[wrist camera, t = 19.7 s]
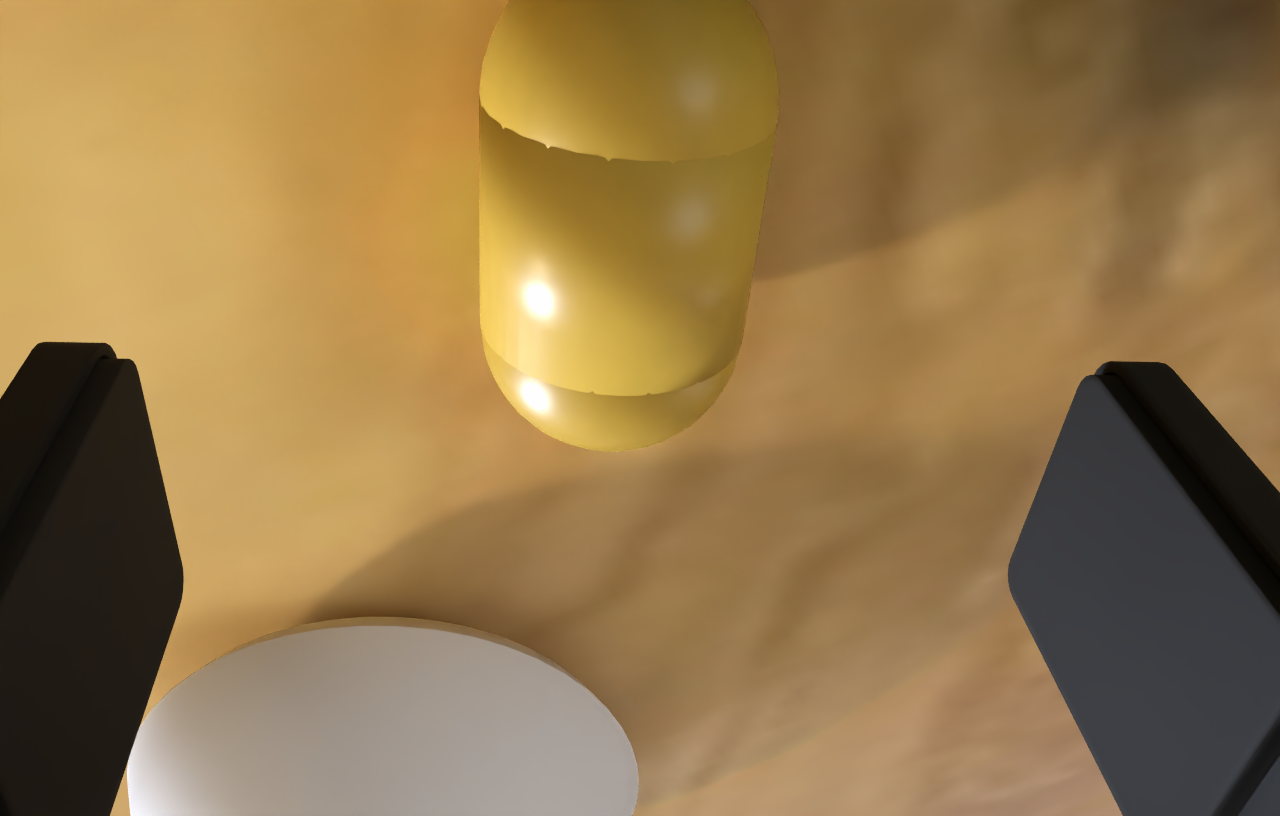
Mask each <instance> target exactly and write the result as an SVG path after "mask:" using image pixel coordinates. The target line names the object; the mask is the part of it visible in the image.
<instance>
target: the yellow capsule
mask: <svg viewBox="0 0 1280 816" xmlns="http://www.w3.org/2000/svg"><path fill="white" fill-rule="evenodd" d="M778 106H779V84H778V77H777V70H776V63H775V59H774V55H773V51H772V49H771V46H770V43H769V40H768V37H767V35H766V32H765V29H764V26H763V24H762V23H761V21H760V19H759V18H758V16H757V14H756V13H755V11H754V10H753V8H752V6H751V5H750V3H749V1H748V0H510V1H509V3H508V5H507V6H506V8H505V10H504V12H503V14H502V15H501V17H500V19H499V21H498V23H497V24H496V26H495V28H494V30H493V32H492V35H491V37H490V41H489V44H488V47H487V50H486V54H485V57H484V60H483V63H482V71H481V81H480V91H479V168H480V326H481V330H482V338H483V347H484V353H485V356H486V359H487V361H488V364H489V367H490V369H491V372H492V374H493V376H494V378H495V380H496V382H497V385H498V386H499V388H500V389H501V391H502V392H503V394H504V395H505V396H506V398H507V399H508V401H509V402H510V403H511V404H512V406H513V407H514V408H515V409H516V410H517V411H518V412H519V413H520V414H521V415H522V416H523V417H524V418H526V419H527V420H528V421H529V422H530V423H532V424H533V425H534V426H536V427H537V428H538V429H540V430H541V431H542V432H544V433H545V434H547V435H549V436H551V437H553V438H555V439H557V440H560V441H562V442H565V443H568V444H571V445H574V446H578V447H581V448H586V449H591V450H597V451H625V450H632V449H638V448H644V447H648V446H651V445H654V444H657V443H660V442H663V441H665V440H667V439H669V438H670V437H672V436H674V435H676V434H678V433H679V432H681V431H683V430H684V429H686V428H688V427H689V426H691V425H692V424H693V423H694V422H695V421H697V420H698V419H699V418H700V417H701V416H702V415H703V414H704V413H705V412H706V411H707V410H708V409H709V408H710V407H711V406H712V405H713V404H714V402H715V401H716V400H717V398H718V397H719V395H720V394H721V392H722V391H723V389H724V387H725V386H726V384H727V382H728V380H729V378H730V377H731V375H732V373H733V370H734V367H735V363H736V360H737V356H738V353H739V349H740V346H741V343H742V339H743V332H744V326H745V320H746V314H747V308H748V301H749V295H750V289H751V283H752V277H753V270H754V264H755V258H756V252H757V246H758V239H759V233H760V227H761V221H762V215H763V208H764V202H765V196H766V190H767V184H768V177H769V171H770V165H771V159H772V153H773V146H774V140H775V134H776V128H777V120H778Z"/></svg>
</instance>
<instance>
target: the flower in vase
mask: <svg viewBox="0 0 1280 816" xmlns="http://www.w3.org/2000/svg"><path fill="white" fill-rule="evenodd" d="M127 780H128V793H129V804H130V814H131V816H633V813H634V810H635V807H636V802H637V795H638V788H639V781H638V766H637V763H636V759H635V756H634V752H633V749H632V746H631V744H630V742H629V740H628V738H627V736H626V734H625V732H624V730H623V728H622V727H621V725H620V724H619V723H618V721H617V720H616V719H615V718H614V716H613V715H612V714H611V712H610V711H609V710H608V708H607V707H606V706H605V705H604V704H603V703H602V702H601V701H600V700H599V699H598V698H597V697H596V696H595V695H594V694H593V693H592V692H591V691H590V690H588V689H587V688H586V687H585V686H584V685H583V684H582V683H581V682H580V681H579V680H578V679H577V678H576V677H575V676H573V675H572V674H570V673H569V672H568V671H566V670H565V669H563V668H562V667H561V666H559V665H558V664H556V663H555V662H553V661H552V660H550V659H548V658H546V657H545V656H543V655H541V654H539V653H537V652H535V651H534V650H532V649H530V648H528V647H526V646H523V645H521V644H519V643H516V642H514V641H511V640H509V639H506V638H504V637H501V636H499V635H496V634H492V633H489V632H485V631H482V630H478V629H475V628H471V627H468V626H462V625H457V624H452V623H446V622H441V621H436V620H426V619H416V618H406V617H356V618H344V619H333V620H327V621H321V622H316V623H310V624H305V625H299V626H296V627H292V628H289V629H285V630H281V631H278V632H274V633H271V634H267V635H265V636H262V637H260V638H257V639H255V640H252V641H250V642H247V643H245V644H242V645H240V646H238V647H236V648H234V649H233V650H231V651H229V652H227V653H225V654H224V655H222V656H220V657H218V658H217V659H215V660H213V661H212V662H210V663H208V664H207V665H205V666H204V667H202V668H200V669H199V670H197V671H196V672H194V673H193V674H191V675H190V676H189V677H187V678H186V679H185V680H183V681H182V682H181V683H179V684H178V685H177V686H175V687H174V688H173V689H171V690H170V691H169V692H168V693H167V694H166V695H165V696H164V697H163V698H162V699H161V700H160V701H159V702H158V703H157V704H156V705H155V706H154V707H153V708H152V710H151V711H150V713H149V714H148V716H147V717H146V719H145V720H144V722H143V723H142V725H141V726H140V728H139V729H138V732H137V735H136V738H135V741H134V744H133V747H132V750H131V753H130V756H129V761H128V767H127Z"/></svg>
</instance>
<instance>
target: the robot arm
mask: <svg viewBox="0 0 1280 816" xmlns="http://www.w3.org/2000/svg"><path fill="white" fill-rule="evenodd" d="M183 581H184V580H183V567H182V562H181V557H180V553H179V549H178V544H177V540H176V535H175V531H174V527H173V522H172V518H171V514H170V509H169V505H168V500H167V496H166V492H165V487H164V483H163V479H162V474H161V470H160V465H159V461H158V457H157V452H156V448H155V444H154V439H153V435H152V430H151V426H150V422H149V417H148V413H147V409H146V404H145V400H144V395H143V391H142V387H141V382H140V378H139V374H138V370H137V367H136V365H135V364H134V362H133V361H132V360H130V359H117V357H116V354H115V352H114V351H113V349H112V347H111V346H110V345H108V344H106V343H76V342H42V343H38V344H37V345H36V346H35V347H34V348H33V349H32V351H31V353H30V354H29V356H28V357H27V359H26V360H25V362H24V363H23V365H22V366H21V368H20V369H19V371H18V373H17V374H16V376H15V377H14V379H13V380H12V382H11V383H10V385H9V386H8V388H7V389H6V391H5V393H4V394H3V396H2V397H1V399H0V816H110V813H111V810H112V807H113V804H114V801H115V798H116V795H117V792H118V789H119V786H120V783H121V780H122V777H123V774H124V771H125V768H126V765H127V762H128V759H129V756H130V753H131V750H132V747H133V744H134V741H135V738H136V735H137V732H138V729H139V726H140V723H141V721H142V718H143V715H144V712H145V709H146V706H147V703H148V700H149V697H150V694H151V691H152V688H153V685H154V682H155V679H156V676H157V673H158V670H159V667H160V664H161V661H162V658H163V655H164V652H165V649H166V646H167V643H168V640H169V637H170V634H171V631H172V628H173V625H174V622H175V619H176V616H177V613H178V610H179V607H180V603H181V599H182V593H183ZM1008 582H1009V587H1010V591H1011V594H1012V597H1013V599H1014V601H1015V603H1016V605H1017V607H1018V609H1019V611H1020V613H1021V615H1022V617H1023V619H1024V621H1025V623H1026V625H1027V626H1028V628H1029V630H1030V632H1031V634H1032V636H1033V638H1034V640H1035V642H1036V644H1037V646H1038V648H1039V650H1040V652H1041V654H1042V656H1043V658H1044V660H1045V662H1046V664H1047V666H1048V668H1049V670H1050V672H1051V674H1052V676H1053V678H1054V680H1055V682H1056V684H1057V686H1058V688H1059V690H1060V692H1061V694H1062V696H1063V698H1064V700H1065V702H1066V704H1067V706H1068V708H1069V710H1070V712H1071V714H1072V716H1073V718H1074V720H1075V721H1076V723H1077V725H1078V727H1079V729H1080V731H1081V733H1082V735H1083V737H1084V739H1085V741H1086V743H1087V745H1088V747H1089V749H1090V751H1091V753H1092V755H1093V757H1094V759H1095V761H1096V763H1097V765H1098V767H1099V769H1100V771H1101V773H1102V775H1103V777H1104V779H1105V781H1106V783H1107V785H1108V787H1109V789H1110V791H1111V793H1112V795H1113V797H1114V799H1115V801H1116V803H1117V805H1118V807H1119V809H1120V811H1121V813H1122V814H1123V816H1280V492H1279V491H1278V490H1277V489H1276V488H1275V487H1274V486H1273V484H1272V483H1271V482H1270V481H1269V480H1268V479H1267V478H1266V476H1265V475H1264V474H1263V473H1262V472H1261V471H1260V469H1259V468H1258V467H1257V466H1256V465H1255V464H1254V463H1253V461H1252V460H1251V459H1250V458H1249V457H1248V456H1247V454H1246V453H1245V452H1244V451H1243V450H1242V449H1241V448H1240V446H1239V445H1238V444H1237V443H1236V442H1235V441H1234V439H1233V438H1232V437H1231V436H1230V435H1229V434H1228V433H1227V431H1226V430H1225V429H1224V428H1223V427H1222V426H1221V424H1220V423H1219V422H1218V421H1217V420H1216V419H1215V418H1214V416H1213V415H1212V414H1211V413H1210V412H1209V411H1208V409H1207V408H1206V407H1205V406H1204V405H1203V404H1202V403H1201V401H1200V400H1199V399H1198V398H1197V397H1196V396H1195V394H1194V393H1193V392H1192V391H1191V390H1190V389H1189V388H1188V386H1187V385H1186V384H1185V383H1184V382H1183V381H1182V379H1181V378H1180V377H1179V376H1178V375H1177V374H1176V373H1175V371H1174V370H1173V369H1172V368H1170V367H1169V366H1168V365H1167V364H1164V363H1159V362H1119V361H1110V362H1107V363H1104V364H1102V365H1101V366H1100V367H1099V368H1098V369H1097V371H1096V373H1095V374H1094V375H1089V376H1086V377H1085V378H1084V379H1083V380H1082V381H1081V383H1080V385H1079V386H1078V388H1077V391H1076V394H1075V396H1074V399H1073V401H1072V404H1071V406H1070V409H1069V411H1068V414H1067V416H1066V419H1065V422H1064V424H1063V427H1062V429H1061V432H1060V434H1059V437H1058V439H1057V442H1056V445H1055V447H1054V450H1053V452H1052V455H1051V457H1050V460H1049V462H1048V465H1047V468H1046V470H1045V473H1044V475H1043V478H1042V480H1041V483H1040V485H1039V488H1038V490H1037V493H1036V496H1035V498H1034V501H1033V503H1032V506H1031V508H1030V511H1029V513H1028V516H1027V519H1026V521H1025V524H1024V526H1023V529H1022V531H1021V534H1020V536H1019V539H1018V541H1017V544H1016V547H1015V549H1014V552H1013V554H1012V557H1011V559H1010V563H1009V569H1008Z"/></svg>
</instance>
